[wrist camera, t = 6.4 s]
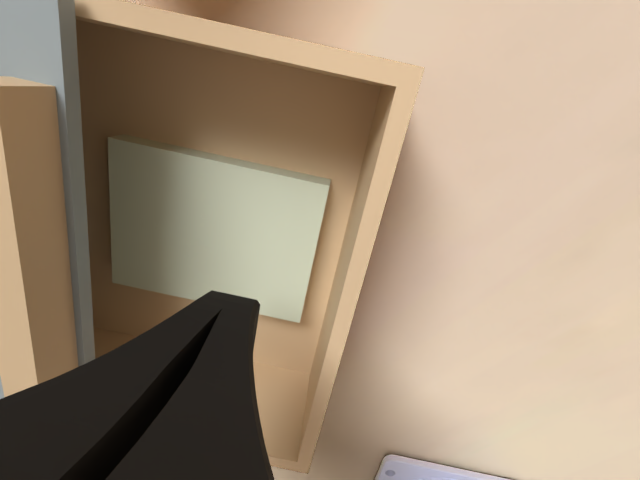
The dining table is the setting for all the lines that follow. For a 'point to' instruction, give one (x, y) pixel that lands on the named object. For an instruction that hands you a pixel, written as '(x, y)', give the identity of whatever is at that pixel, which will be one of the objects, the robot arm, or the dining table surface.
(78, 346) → the lid
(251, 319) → the robot arm
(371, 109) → the box
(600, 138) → the dining table surface
